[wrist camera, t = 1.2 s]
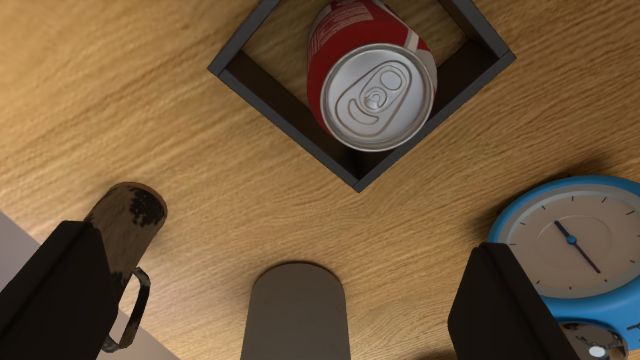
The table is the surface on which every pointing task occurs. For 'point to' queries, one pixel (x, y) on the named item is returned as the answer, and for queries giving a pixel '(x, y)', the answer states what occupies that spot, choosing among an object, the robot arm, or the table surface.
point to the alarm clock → (581, 258)
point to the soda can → (368, 75)
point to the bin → (300, 124)
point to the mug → (128, 243)
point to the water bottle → (296, 316)
